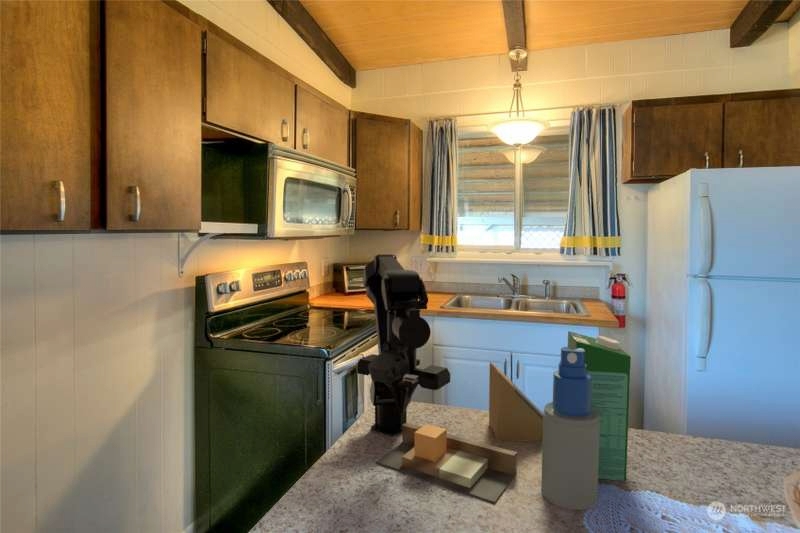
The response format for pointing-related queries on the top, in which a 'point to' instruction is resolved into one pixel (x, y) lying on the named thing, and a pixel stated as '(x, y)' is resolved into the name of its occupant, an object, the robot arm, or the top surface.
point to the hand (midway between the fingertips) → (401, 412)
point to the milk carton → (608, 399)
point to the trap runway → (457, 465)
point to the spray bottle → (571, 436)
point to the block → (430, 442)
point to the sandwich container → (512, 410)
